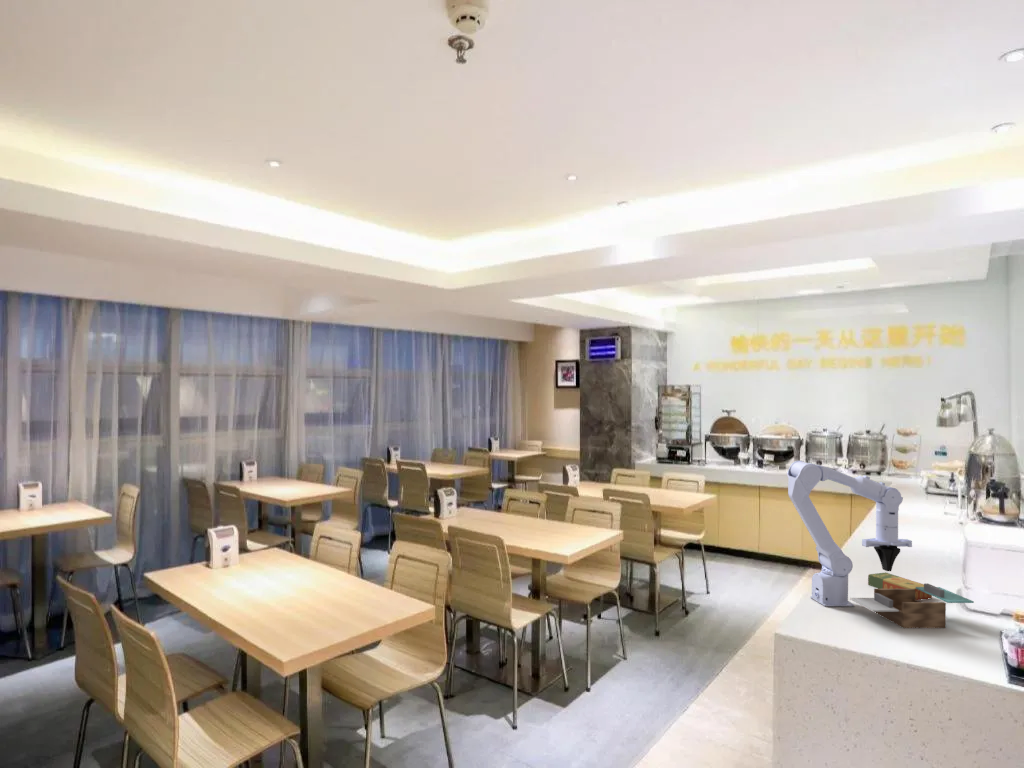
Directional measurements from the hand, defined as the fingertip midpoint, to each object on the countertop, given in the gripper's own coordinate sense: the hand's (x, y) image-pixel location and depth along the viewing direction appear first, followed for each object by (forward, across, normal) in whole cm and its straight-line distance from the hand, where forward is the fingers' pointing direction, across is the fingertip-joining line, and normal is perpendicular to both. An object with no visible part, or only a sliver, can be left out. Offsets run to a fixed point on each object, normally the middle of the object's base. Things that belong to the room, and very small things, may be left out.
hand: (886, 570), depth 179 cm
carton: (+11, +13, +12) cm, 21 cm away
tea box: (+10, -2, -12) cm, 16 cm away
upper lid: (+4, +8, -12) cm, 15 cm away
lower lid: (+6, -13, -12) cm, 18 cm away
